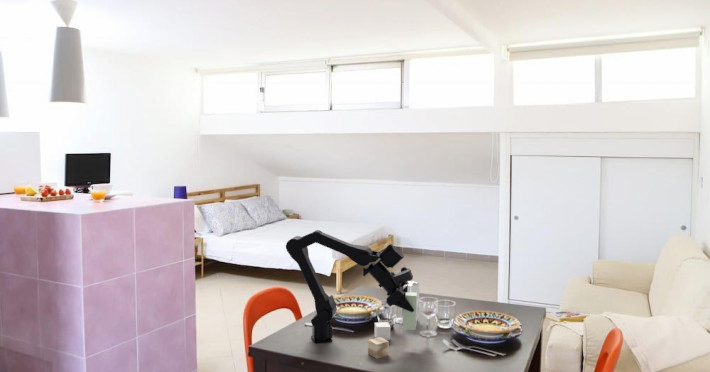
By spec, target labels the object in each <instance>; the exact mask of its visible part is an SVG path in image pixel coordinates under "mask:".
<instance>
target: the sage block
mask: <svg viewBox="0 0 710 372" xmlns="http://www.w3.org/2000/svg"><path fill="white" fill-rule="evenodd" d="M406 299H407V300H408V301H409V303H410V304H411V306H412V307H413V309H414V311H413V312H410V311H408V310H405V309H403V308H402V330H410V331H416V329H417V321H418V320H417V318H418V306H417V293H415V292H406ZM416 320H417V321H416Z"/></svg>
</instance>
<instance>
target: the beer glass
mask: <svg viewBox="0 0 710 372" xmlns="http://www.w3.org/2000/svg"><path fill="white" fill-rule="evenodd" d="M407 285H408V292H415V293H417V307H418V306H419V302H420V301H419V300H420V284H419V282H416V281H408V283H407V284H405V285H404V286H403V287H404V288H405V287H406V286H407ZM416 322H418V317H417V320H416Z"/></svg>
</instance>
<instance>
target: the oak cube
mask: <svg viewBox="0 0 710 372" xmlns="http://www.w3.org/2000/svg"><path fill="white" fill-rule="evenodd" d="M389 341H390V340H385V339H383V338H381V337H378V338H375V337H374V338H371V339H368V341H367V344H368V345H367V354H368V355H369V354H370V355H369V356H371V357H373V358H374V357H375V359H376V360H377V359H381V358H385V357H389V354H390V352H389V351H390V349H389V348H390V346H389V345H390V342H389Z"/></svg>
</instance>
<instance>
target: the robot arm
mask: <svg viewBox="0 0 710 372" xmlns="http://www.w3.org/2000/svg"><path fill="white" fill-rule="evenodd" d="M315 243H316V244H319V245H321V246H323V247H325V248H328V249H330V250H333V251H335V252H338V253H340V254H342V255H344V256H347V257H348V258H349V259H350V260H351V261H353V262H354V263H355V264H357V265H359V266H361V267H362V271H363V274H362V276H363V277H366V275H368V274H369V275H370V276H371V277H372V278H373V280H375V281H376V282H377V284H378V287H379V288H382V289H383V290H384V292H386V296H387V297H386V301H385V302H386V304H387V305H388V307H392V306H395V307H397V308H401V309H402V310H403V309H405V310H408V311H410V312H413V311H414V309H413V307H412V306H411V304H410V303H409V301H408V300H407V299H406V292H408V285H407V286H406V287H405V288H404V287H403V286H404V285H405V284H407V283H408V282H411V281H412V280H413V278H414V275H413V273H412V269H410V268H408V267H406V266H403V267H401V268H400V271H399V272H398V273H395V272H392V271H390V270H389V268H391V269H393V268H394V267H395V266H396V265H397V264H398V263H400V262H401V261H402V260H403V259H404V258H405V255H404V254H403V253H402V252H401V250H400V248H398V247H396V246H395V245H393V244H392V243H389V244H388V245H387V246H386V247H385V248H384V249H383V250H382V251H377V250H372V248H370V247H368V246H365V245H359V244H353V243H349V242H347V241H345V240H342V239H339V238H337V237H335V236H333V235H330V234H328V233H325V232H323V231H321V230H319V229H317V230H314V231H313V232H310V233H308V234H305V235H303V236H300V235H296V236H294V237H291V238H290V239H289V240H288V241H287V242H286V244H285V249H286V252H287V253H288V255H289V256H290V257H291V259H292V260H294V262H295V263H296V264H297V265H298V268H299V269H300V272H301V273H302V276H303V278H304V279H305V282H306V284H307V287H308V289H309V291H310V292H311V295H312V297H313V299H314V308H315V312H316V314H315V315H314V316H313V318H311V320H310V322H311V325H312V327H311V332H312V333H311V336H310V338H311V339H312V341H313V343H315V344H318V343H329V342H332V341H333V326H332V323H331V320H332V319H333V318H334V316H335V315H336V313H337V310H338V308H337V306H338V303H337V302H336V301H335V297H334V296H333V294H331V295H330V296H329V295H328V294H327V293H326V292H325V289H324V287H323V285H322V283H321V281H320V278H319V276H318V274H317V272H316V270H315V268H314V265H313V264H312V262H311V259H310V257H309V248H308V247H310V246H311V245H313V244H315Z"/></svg>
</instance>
